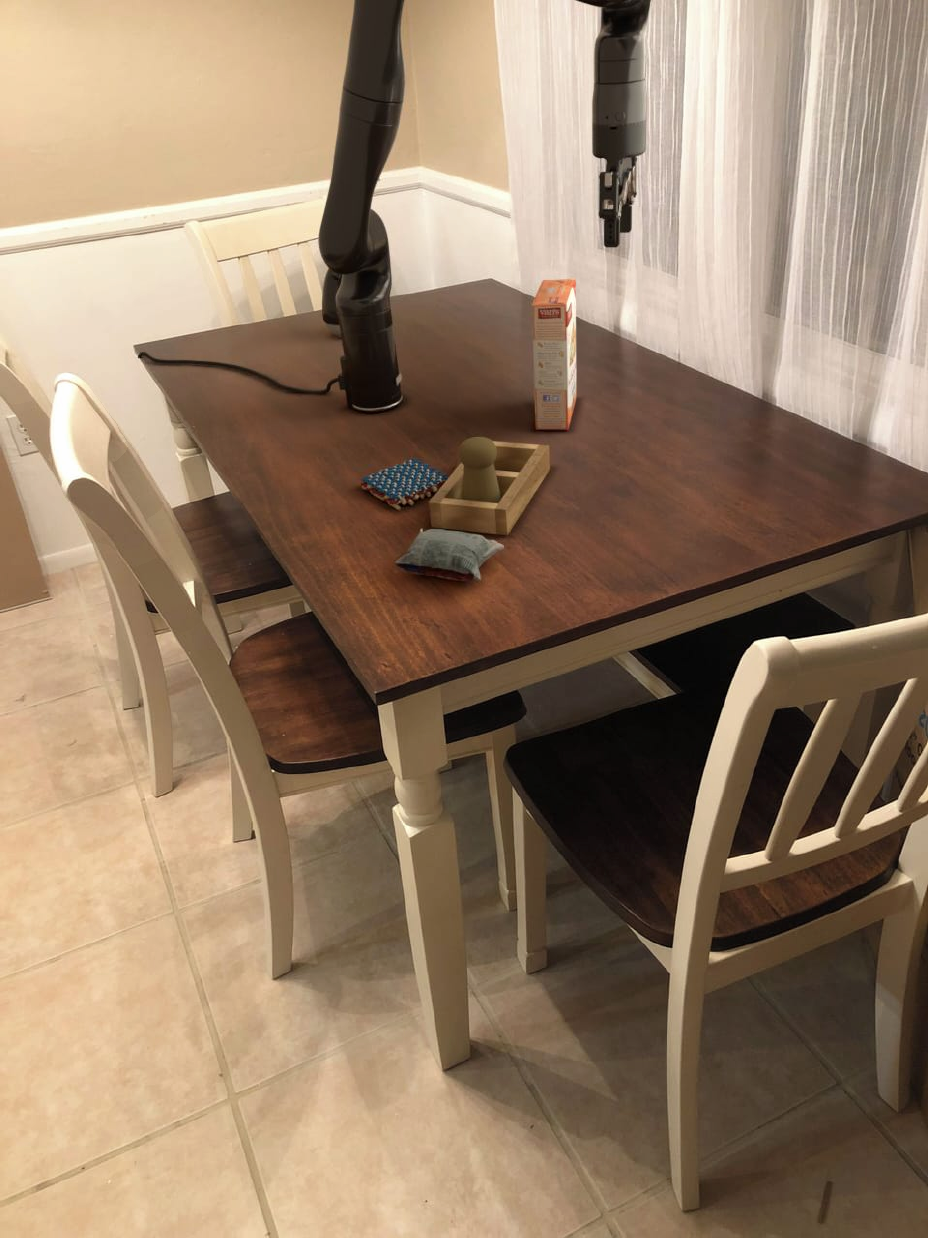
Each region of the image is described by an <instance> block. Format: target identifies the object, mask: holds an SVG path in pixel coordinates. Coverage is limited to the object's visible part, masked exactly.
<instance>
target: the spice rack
mask: <svg viewBox="0 0 928 1238" xmlns="http://www.w3.org/2000/svg"><path fill="white" fill-rule="evenodd" d="M492 441H493V443H494V444H495V447H496V450H497V455H496V459H495V461H494V462H493V464H494V468H495V473H496V477H497V482H498V487H499V491H500V496H501V500H500V502H499V503H490V502H480V501H469V500H462V491H463V471H464V465H463V464H462V463H461V462H460V463H459V464H458V465H457V467H456V468H455V469H454V470H453V472H452V473H451V474H450V476H448V477H449V478H448V479H447V481H446V482H445V483H444V484H443V485H442V486H440V487H441V488H440V489H439V490H438V491H436V492H435V494H434V495H433V496H432V498H431V499H430V500H429V502H428V507H429V513H430V514H429V517H430V523H431V524H430V525H431V528H432V529H443V530H451V531H461V532H472V533H482V534H490V535H491V534H492V535H499V536H509V534H510V532H511V531H512V529H513V528H514V527H515V525H516V523H517V522H518V520H519V519H520V517H521V516H522V514H523V512H524V511H525V509H526V508H527V506H528V505H529V503H530V501H531V500H532V498H533V497H534V495H535V494H536V492H537V491H538V489H539V487H540V486H541V484H542V483H543V481H544V480H545V478H546V476H547V474H548V473H549V472H550V470H551V458H550V457H551V456H550V445H549V444H536V443H522V442H521V443H520V442H508V441H494V440H492Z"/></svg>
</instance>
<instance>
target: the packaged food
mask: <svg viewBox="0 0 928 1238" xmlns="http://www.w3.org/2000/svg"><path fill="white" fill-rule="evenodd" d="M504 549H505V546H504V544H502V543H500V542H499V543H498V541H497V540H494V539H487V538H486V537H484V535H481V534H475V533H469V532H464V531H459V530H447V529H443V528H431V529H426V530H424V531H423V528H420V530H419V533H418V534H417V535H416V537H415V538H414V540H413V541H412V543H411V545H410V546H409V547H408V549H407V551H406V552H405V553H404V554H403V556H401V557H400V558H398V559H397V560H396V561H395V562H394V564H395V565H396V567H398V568H400V569H403V570H404V571H406V572H407V573H409V574H412V575H420V576H430V577H436V578H441V579H447V580H452V581H458V582H459V581H461V582H471V581H473V580H476V581H479V582H480V581H481V580H482V575H481V572H480V567H482V565H483V564H484V563H485V562H486V561H487V560H489V559H490V558H491V557H492V556H494V555H495V554H496V553H497V552H499V551H501V550H504Z"/></svg>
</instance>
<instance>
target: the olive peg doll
mask: <svg viewBox="0 0 928 1238" xmlns="http://www.w3.org/2000/svg"><path fill="white" fill-rule="evenodd" d="M493 441H494V440H492V439H490V438H489V437H485V436H474V437H470V438H469V437H468V438H467V439H465V440H463V441H462V442H461V444H460V445H459V448H458V458H459V460H460V463H462V464H463V465H464V471H463V491H462V500H469V501H480V502H490V503H499V502H500V500H501V496H500V491H499V487H498V482H497V477H496V473H495V470H496V469H495V468H494V464H493V462H494V461H495V459H496V455H497V450H496V447H495V444H494V443H493Z"/></svg>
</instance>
